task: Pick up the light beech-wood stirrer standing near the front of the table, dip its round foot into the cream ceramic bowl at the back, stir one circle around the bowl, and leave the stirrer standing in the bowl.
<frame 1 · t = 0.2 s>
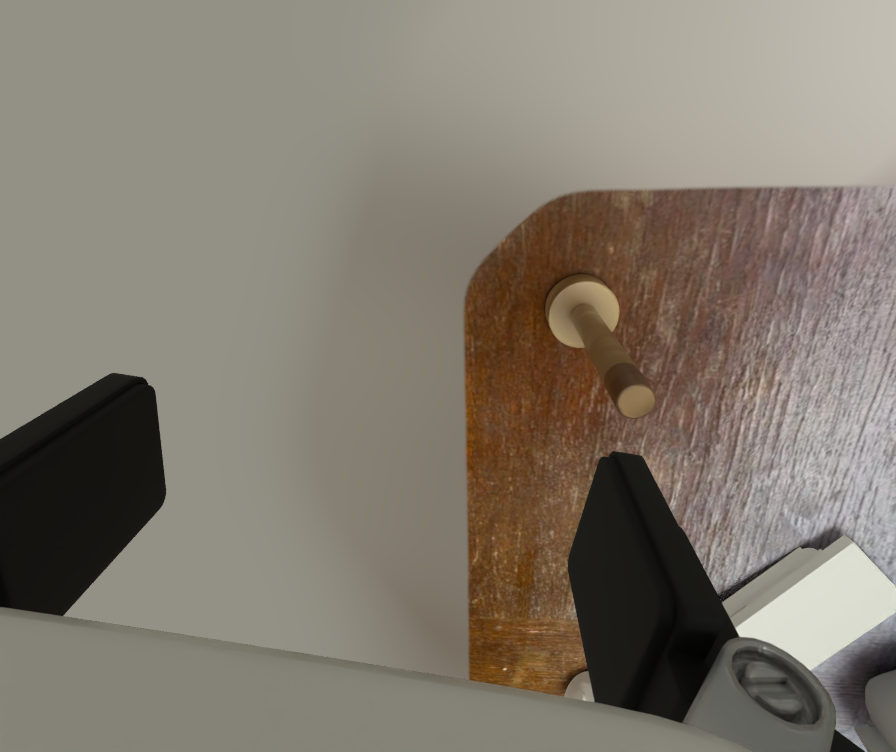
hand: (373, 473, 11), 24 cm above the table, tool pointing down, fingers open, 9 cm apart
wall bracket: (711, 635, 45), on the table
stirrer: (578, 306, 34), on the table
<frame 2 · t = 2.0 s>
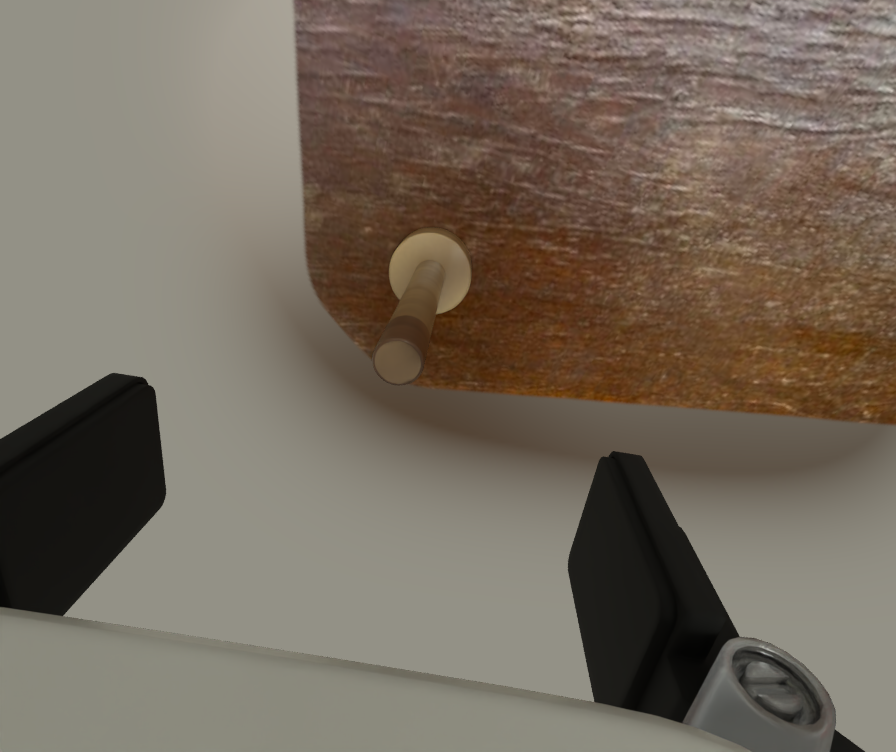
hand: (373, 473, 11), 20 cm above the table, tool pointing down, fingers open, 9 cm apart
stirrer: (432, 267, 29), on the table
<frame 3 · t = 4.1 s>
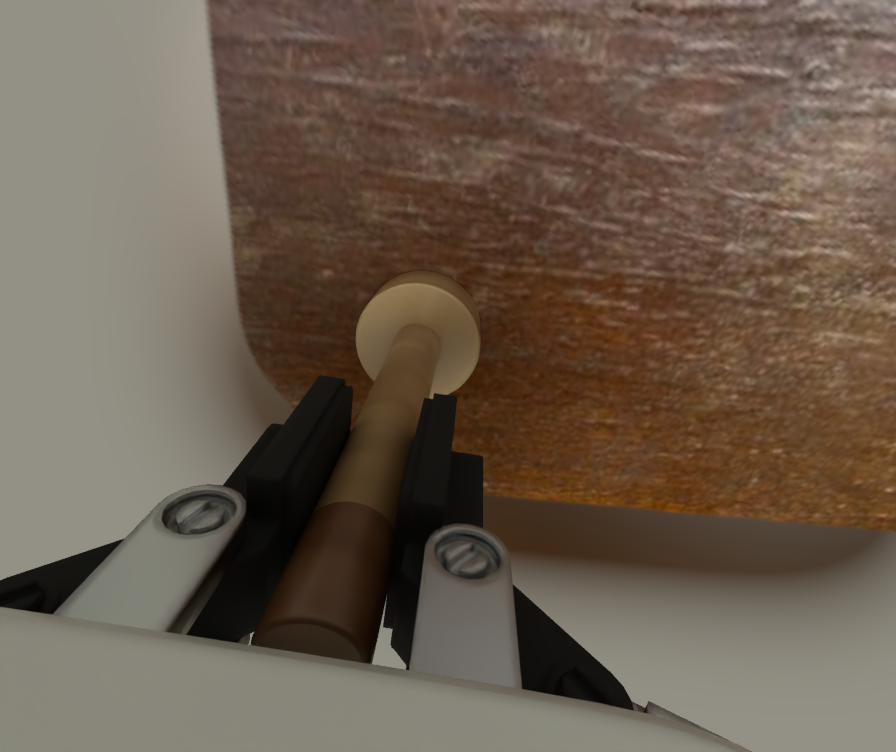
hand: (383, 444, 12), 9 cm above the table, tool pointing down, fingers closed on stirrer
stirrer: (423, 327, 19), on the table, touching gripper
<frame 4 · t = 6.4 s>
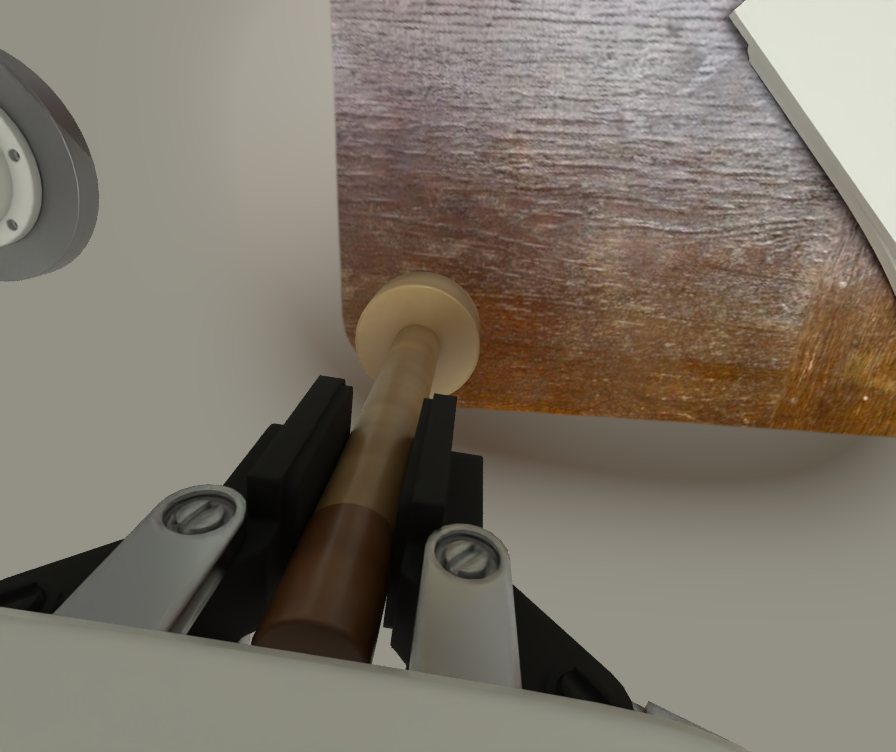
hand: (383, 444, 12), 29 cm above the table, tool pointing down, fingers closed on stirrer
wall bracket: (885, 151, 34), on the table
stirrer: (423, 327, 19), point 21 cm above the table, touching gripper
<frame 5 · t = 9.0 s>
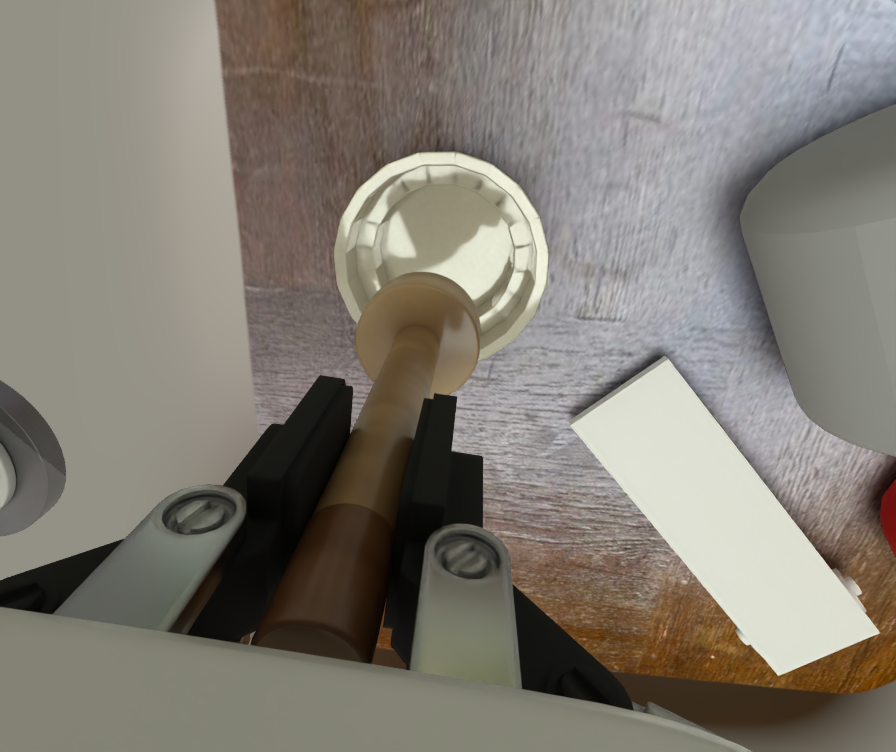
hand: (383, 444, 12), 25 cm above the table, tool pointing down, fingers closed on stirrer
wall bracket: (707, 499, 42), on the table
stirrer: (423, 327, 19), point 17 cm above the table, touching gripper
jar: (878, 290, 34), on the table
bowl: (446, 250, 35), on the table
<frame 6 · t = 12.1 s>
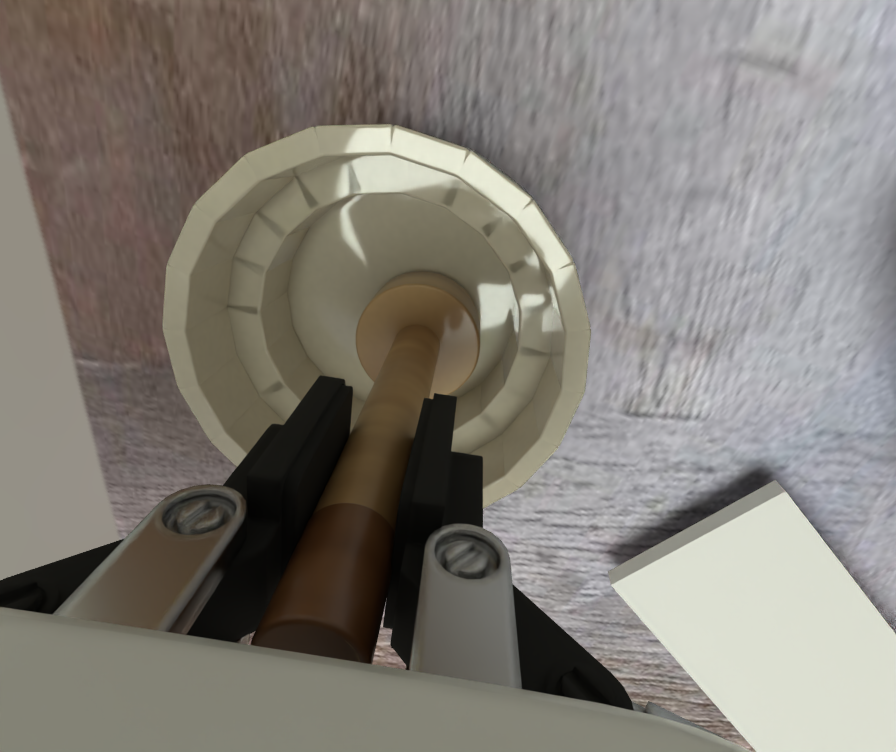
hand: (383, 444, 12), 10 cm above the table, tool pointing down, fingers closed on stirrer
wall bracket: (816, 672, 27), on the table
stirrer: (423, 327, 19), point 1 cm above the table, touching gripper
bowl: (403, 304, 20), on the table
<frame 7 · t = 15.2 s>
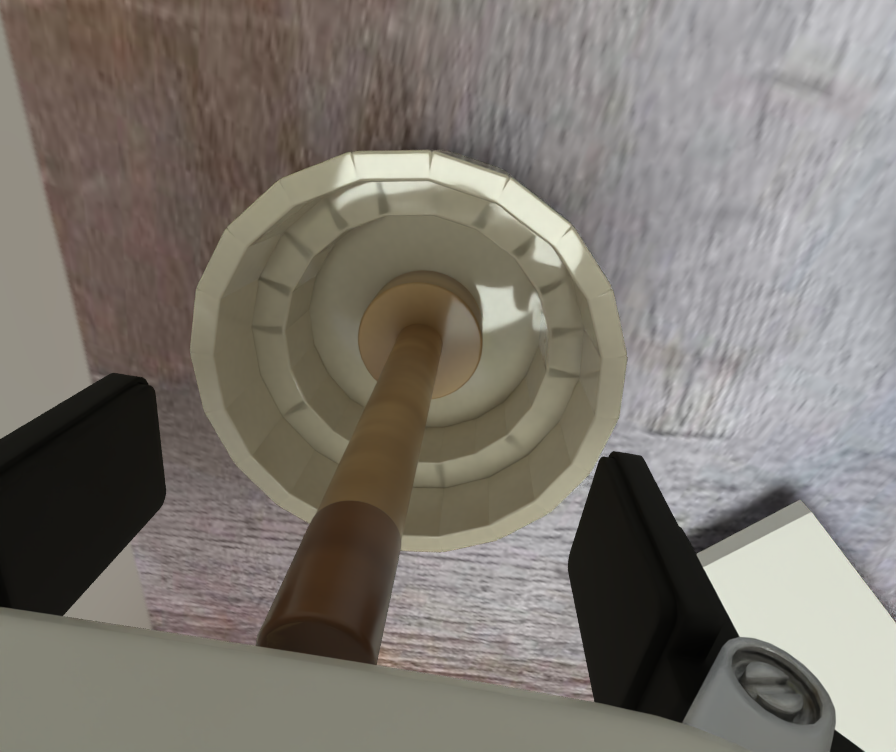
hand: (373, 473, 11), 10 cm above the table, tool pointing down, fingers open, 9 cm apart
wall bracket: (834, 688, 27), on the table
stirrer: (425, 326, 19), point 1 cm above the table, touching bowl
bowl: (425, 321, 20), on the table
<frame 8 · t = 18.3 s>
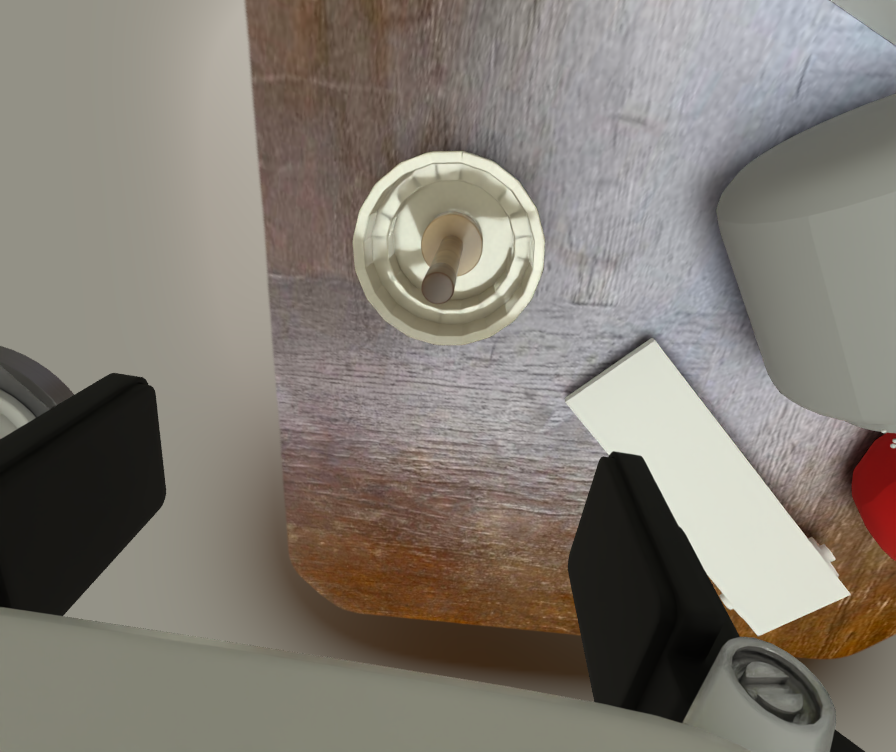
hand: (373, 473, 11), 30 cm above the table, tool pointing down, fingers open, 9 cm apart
wall bracket: (693, 472, 45), on the table
stirrer: (453, 242, 38), point 1 cm above the table, touching bowl
jar: (846, 278, 38), on the table
bowl: (452, 240, 38), on the table
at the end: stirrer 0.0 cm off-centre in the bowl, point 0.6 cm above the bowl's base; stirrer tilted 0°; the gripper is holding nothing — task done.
